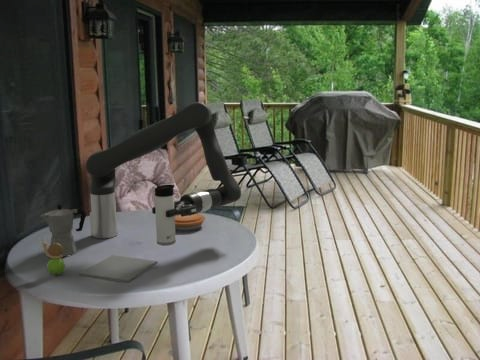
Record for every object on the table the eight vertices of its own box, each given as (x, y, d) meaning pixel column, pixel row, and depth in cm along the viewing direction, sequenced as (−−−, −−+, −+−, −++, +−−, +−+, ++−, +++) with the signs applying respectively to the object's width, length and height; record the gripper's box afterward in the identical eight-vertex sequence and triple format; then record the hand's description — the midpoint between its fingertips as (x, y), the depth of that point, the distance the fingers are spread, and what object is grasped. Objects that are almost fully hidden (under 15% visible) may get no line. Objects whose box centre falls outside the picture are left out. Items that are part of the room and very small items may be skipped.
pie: (162, 231, 217) (161, 219, 216) (175, 221, 232) (174, 209, 231) (199, 233, 214) (198, 221, 213) (209, 222, 229) (209, 211, 228)
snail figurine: (47, 271, 176) (43, 235, 173) (67, 270, 176) (64, 235, 174) (42, 277, 170) (39, 241, 168) (63, 276, 171) (60, 240, 169)
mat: (79, 274, 172) (79, 273, 172) (112, 256, 189) (112, 255, 189) (128, 282, 166) (128, 280, 166) (157, 262, 182) (157, 261, 182)
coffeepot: (45, 260, 186) (40, 209, 182) (42, 252, 194) (38, 203, 191) (91, 253, 192) (87, 204, 189) (86, 245, 201) (83, 198, 197)
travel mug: (173, 246, 179) (170, 187, 174) (154, 245, 180) (151, 186, 176) (179, 240, 185) (176, 183, 180) (160, 239, 186) (158, 182, 182)
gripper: (181, 189, 194) (145, 198, 182) (210, 195, 185) (174, 205, 173) (182, 209, 196) (146, 219, 184) (211, 216, 187) (174, 227, 174)
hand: (159, 212), depth 178 cm, fingers closed on travel mug, 6 cm apart
